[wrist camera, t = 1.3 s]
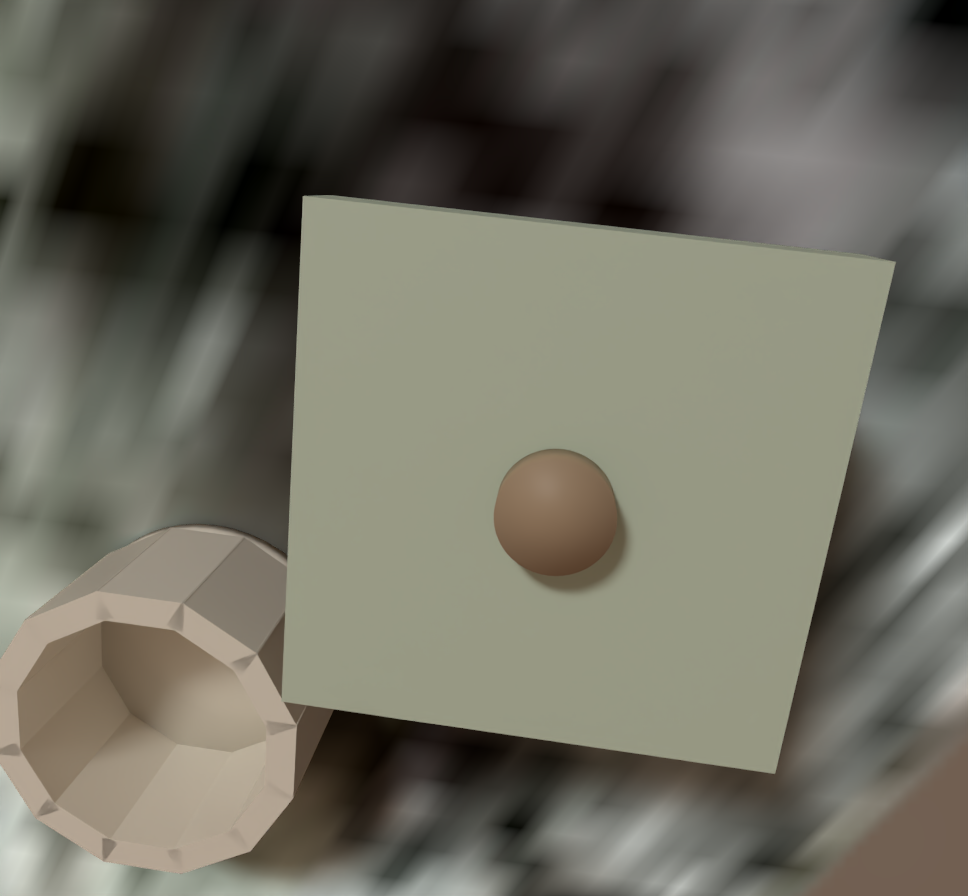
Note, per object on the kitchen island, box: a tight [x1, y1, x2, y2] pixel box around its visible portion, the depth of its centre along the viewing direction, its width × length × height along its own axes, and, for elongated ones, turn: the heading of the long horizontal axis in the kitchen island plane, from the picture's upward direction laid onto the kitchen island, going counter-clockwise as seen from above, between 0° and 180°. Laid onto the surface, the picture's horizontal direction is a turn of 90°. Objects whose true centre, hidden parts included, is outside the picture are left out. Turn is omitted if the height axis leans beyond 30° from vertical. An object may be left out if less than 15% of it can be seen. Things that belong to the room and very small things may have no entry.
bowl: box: [0, 524, 334, 874], centre depth 26 cm, size 8×8×5 cm
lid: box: [281, 195, 896, 774], centre depth 19 cm, size 11×11×3 cm
